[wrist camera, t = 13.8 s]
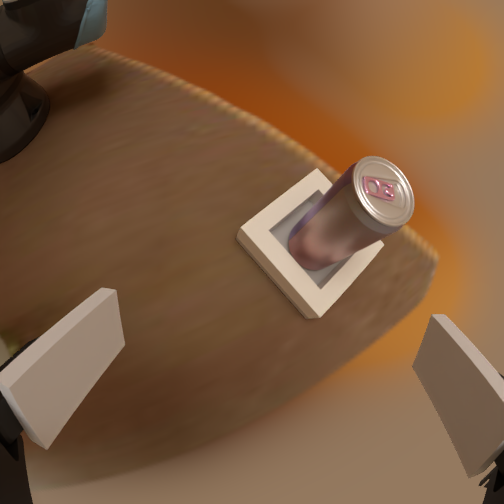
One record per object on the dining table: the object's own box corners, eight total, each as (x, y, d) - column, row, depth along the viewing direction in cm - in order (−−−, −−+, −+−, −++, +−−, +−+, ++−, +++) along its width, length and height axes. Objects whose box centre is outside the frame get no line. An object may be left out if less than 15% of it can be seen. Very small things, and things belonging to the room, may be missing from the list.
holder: (235, 239, 32) (240, 227, 28) (305, 183, 36) (317, 168, 32) (305, 319, 31) (320, 317, 28) (366, 253, 35) (384, 244, 31)
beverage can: (287, 217, 33) (347, 144, 19) (334, 225, 34) (410, 165, 20) (285, 268, 31) (353, 219, 17) (333, 274, 32) (421, 234, 18)
